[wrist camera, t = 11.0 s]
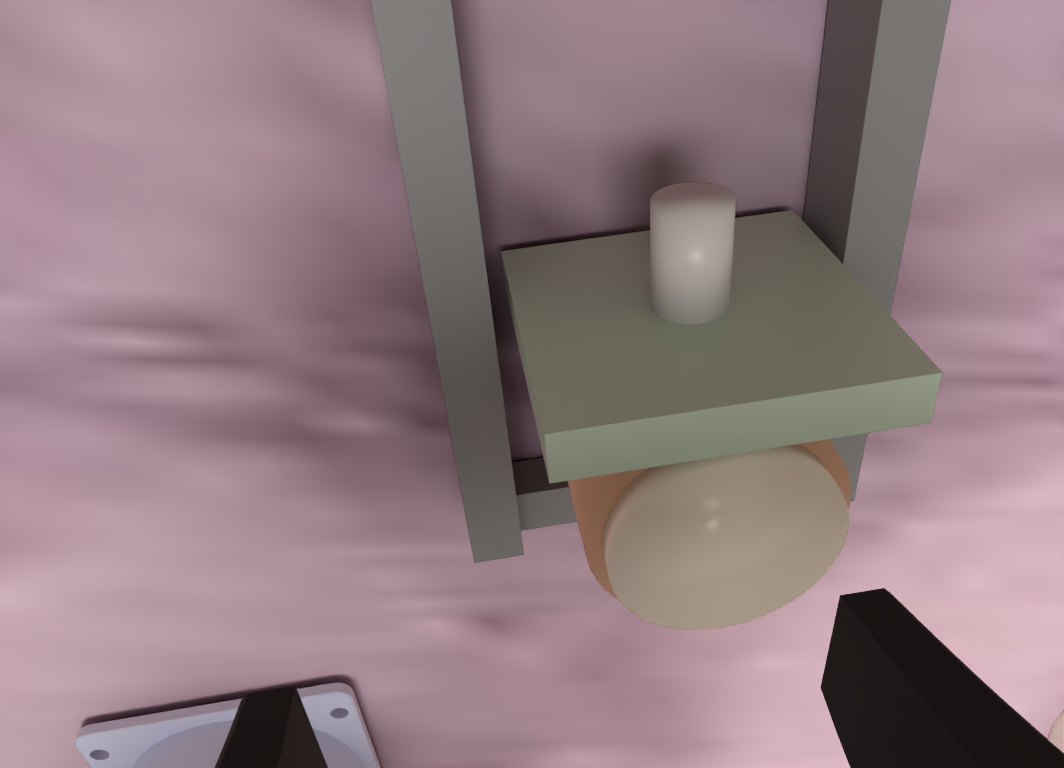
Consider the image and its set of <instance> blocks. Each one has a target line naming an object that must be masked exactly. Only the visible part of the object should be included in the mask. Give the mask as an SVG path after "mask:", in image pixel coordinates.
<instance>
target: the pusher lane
mask: <svg viewBox="0 0 1064 768" xmlns="http://www.w3.org/2000/svg"><path fill="white" fill-rule="evenodd" d="M950 3H951V0H829V1H828V9H827V18H826V27H825V36H824V44H823V53H822V62H821V71H820V79H819V88H818V97H817V106H816V114H815V123H814V132H813V141H812V150H811V158H810V167H809V176H808V185H807V193H806V202H805V211H804V220H803V222H804V223H805V224H806V225H807V226H808V227H809V228H810V229H811V230H812V231H813V232H814V233H815V235H816V236H817V237H818V238H819V239H820V240H821V241H822V242H823V243H824V244H825V245H826V247H827V248H828V249H829V250H830V251H831V252H832V253H833V254H834V255H835V256H836V257H837V258H838V260H839V261H840V262H841V263H842V264H843V265H844V266H845V267H846V268H847V269H848V270H849V271H850V273H851V274H852V275H853V276H854V277H855V278H856V279H857V280H858V281H859V282H860V283H861V285H862V286H863V287H864V288H865V289H866V290H867V291H868V292H869V293H870V294H871V295H872V296H873V298H874V299H875V300H876V301H877V302H878V303H879V304H880V305H881V306H882V307H883V308H884V309H885V311H886V312H887V313H888V314H889V315H890V313H891V307H892V302H893V297H894V292H895V287H896V282H897V276H898V271H899V266H900V261H901V256H902V251H903V246H904V240H905V235H906V230H907V225H908V220H909V215H910V209H911V204H912V199H913V194H914V189H915V184H916V179H917V173H918V168H919V163H920V158H921V153H922V148H923V142H924V137H925V132H926V127H927V122H928V117H929V111H930V106H931V101H932V96H933V91H934V86H935V81H936V75H937V70H938V65H939V60H940V55H941V50H942V44H943V39H944V34H945V29H946V24H947V19H948V14H949V8H950ZM371 5H372V10H373V16H374V21H375V27H376V32H377V38H378V43H379V48H380V54H381V59H382V65H383V70H384V76H385V81H386V86H387V92H388V97H389V103H390V108H391V114H392V119H393V124H394V130H395V135H396V141H397V146H398V152H399V157H400V162H401V168H402V173H403V179H404V184H405V190H406V195H407V200H408V206H409V211H410V217H411V222H412V227H413V233H414V238H415V244H416V249H417V255H418V260H419V265H420V271H421V276H422V282H423V287H424V293H425V298H426V303H427V309H428V314H429V320H430V325H431V331H432V336H433V341H434V347H435V352H436V358H437V363H438V369H439V374H440V379H441V385H442V390H443V396H444V401H445V407H446V412H447V417H448V423H449V428H450V434H451V439H452V445H453V450H454V455H455V461H456V466H457V472H458V477H459V483H460V488H461V493H462V499H463V504H464V510H465V515H466V521H467V526H468V531H469V537H470V542H471V548H472V553H473V559H474V563H477V562H483V561H489V560H495V559H502V558H508V557H514V556H520V555H524V551H523V544H522V536H521V531H522V530H528V529H534V528H540V527H546V526H552V525H559V524H565V523H571V522H577V517H576V513H575V509H574V505H573V502H572V498H571V494H570V490H569V486H568V482H567V481H563V482H556V483H550V484H549V479H548V475H547V471H546V466H545V462H544V458H536V459H530V460H524V461H517V462H512V460H511V453H510V445H509V438H508V430H507V422H506V415H505V407H504V400H503V392H502V385H501V377H500V369H499V362H498V354H497V347H496V339H495V332H494V324H493V316H492V309H491V301H490V294H489V286H488V279H487V271H486V263H485V256H484V248H483V241H482V233H481V226H480V218H479V210H478V203H477V195H476V188H475V180H474V172H473V165H472V157H471V150H470V142H469V135H468V127H467V119H466V112H465V104H464V97H463V89H462V82H461V74H460V66H459V59H458V51H457V44H456V36H455V29H454V21H453V13H452V6H451V0H371ZM866 436H867V433H864V434H858V435H852V436H845V437H839V438H833V439H829V440H830V442H831V443H832V445H833V446H834V448H835V449H836V451H837V452H838V454H839V456H840V457H841V459H842V460H843V462H844V465H845V467H846V469H847V471H848V475H849V479H850V488H851V496H850V501H854V498H855V493H856V488H857V483H858V478H859V472H860V467H861V462H862V457H863V452H864V447H865V441H866Z"/></svg>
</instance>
